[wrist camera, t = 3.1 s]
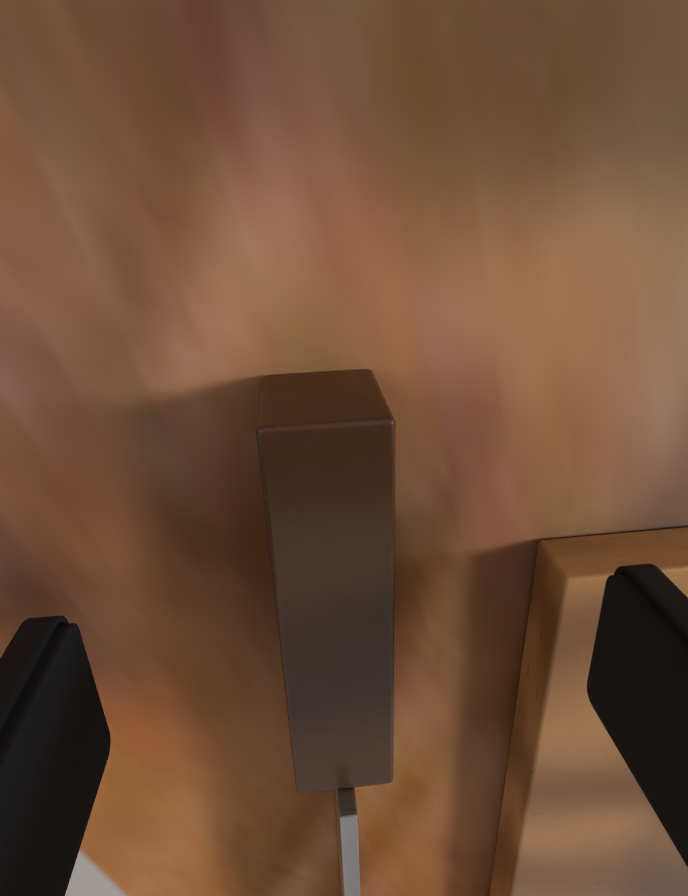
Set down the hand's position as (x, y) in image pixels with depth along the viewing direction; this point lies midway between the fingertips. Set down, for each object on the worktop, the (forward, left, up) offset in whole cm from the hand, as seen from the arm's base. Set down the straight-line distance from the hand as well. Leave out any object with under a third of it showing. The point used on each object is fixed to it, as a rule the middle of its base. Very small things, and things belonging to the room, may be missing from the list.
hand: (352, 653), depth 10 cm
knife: (+5, 0, -3) cm, 6 cm away
